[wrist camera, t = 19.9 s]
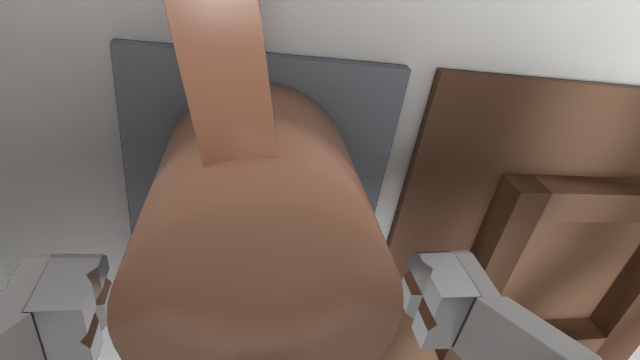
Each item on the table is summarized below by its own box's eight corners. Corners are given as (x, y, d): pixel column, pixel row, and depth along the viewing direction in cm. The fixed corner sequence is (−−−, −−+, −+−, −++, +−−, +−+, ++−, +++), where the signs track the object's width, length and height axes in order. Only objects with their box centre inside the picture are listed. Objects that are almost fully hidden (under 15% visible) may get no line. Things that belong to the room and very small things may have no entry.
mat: (138, 268, 15) (136, 277, 15) (113, 38, 11) (109, 42, 11) (356, 265, 17) (359, 272, 17) (406, 65, 13) (411, 69, 12)
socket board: (346, 384, 21) (353, 414, 20) (437, 68, 13) (459, 86, 12) (615, 364, 25) (635, 389, 24) (826, 103, 16) (874, 120, 15)
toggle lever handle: (349, 227, 15) (400, 387, 10) (189, 249, 14) (153, 429, 9) (332, -137, 10) (424, -208, 4) (81, -119, 9) (-135, -173, 4)
